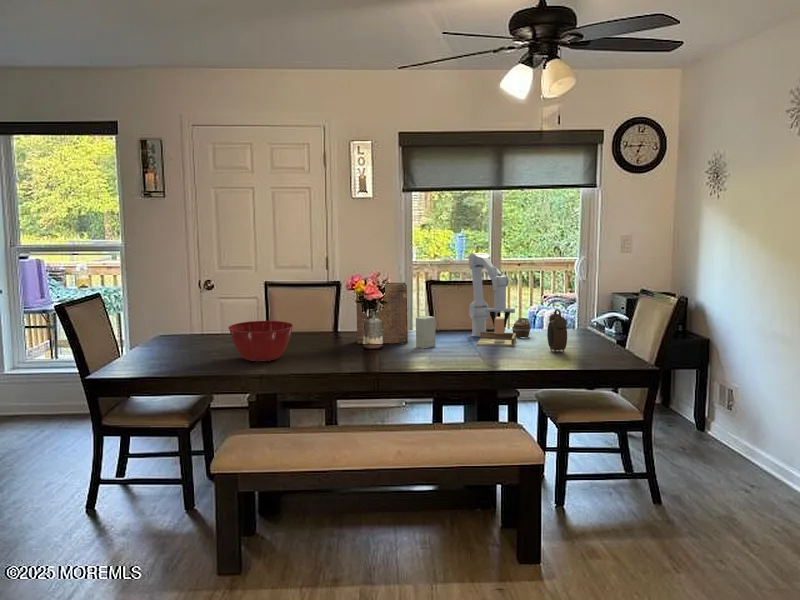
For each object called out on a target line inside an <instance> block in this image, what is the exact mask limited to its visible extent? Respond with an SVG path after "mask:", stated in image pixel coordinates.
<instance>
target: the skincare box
mask: <svg viewBox="0 0 800 600" xmlns="http://www.w3.org/2000/svg"><path fill="white" fill-rule="evenodd" d="M436 341H437V340H436V317H435V316H430V315H425V316H420V317H419V316H418V317H415V346H416V347H417V348H419V347H420V348H419V349H423V348H425V349H427V348H429V349H430V348H433V347H436V344H437V343H436Z"/></svg>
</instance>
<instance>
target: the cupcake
mask: <svg viewBox="0 0 800 600" xmlns="http://www.w3.org/2000/svg"><path fill="white" fill-rule="evenodd" d="M511 328H512V333H516V337H528V336H529V337H530V332H531V328H532V326H531V322H530V319H529V318H526V317H518V319H517V320H516V321H515V322H514V323H513V326H512V327H511ZM529 337H528V338H529Z"/></svg>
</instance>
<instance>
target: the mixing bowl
mask: <svg viewBox="0 0 800 600" xmlns="http://www.w3.org/2000/svg"><path fill="white" fill-rule="evenodd" d="M293 327H294V324H293V323H291V322H287V321H279V320H255V321H245V322H238V323H235V324H231V325H229V326H228V330H229V332H230V336H231V339H232V341H233V344H234V346H235V348H236V350H237V352H238V354H239V355H240V356H241V357H242V358H243V359H244V360H246V361H248V360H249V361H248V362H250V361H269V360H274V359H276V360H277V359H279V358H280V357H281V356H282V355H283V354H284V352H285V351H286V348H287V346H288V343H289V342H290V338H291V335H292V332H293ZM274 361H275V360H274ZM269 362H270V361H269Z"/></svg>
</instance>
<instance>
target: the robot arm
mask: <svg viewBox="0 0 800 600" xmlns="http://www.w3.org/2000/svg"><path fill="white" fill-rule="evenodd" d="M468 265H469V266H468V267H469V270H471V277H472V278H471V279H472V289H473V290H472V291H473V301H472V302H471V303H470V304H469V307H468V309H469V310H468V315H469V317H470V319H471V320H472V321H471V322H472V323H471V324H472V327H471V329H472V332H471V333H472V334H471V335H470V337H479V338H480V332H487V320H488V318H489V317H490V318H491V321H492V324H493V326H494V319H495V318H496V313H499V314H500V313H501V314H502V313H503V314H504V316H503V317H505V322H504V327H505V328H506V327H507V324H508V323H507V322H508V321H509V317H510V315H511V314H515V313H516V309H515V308H507V287H508V286H509V277H508V276H507V275H506V274H503V273H502V272H501V271H500V270H499V268H498V267H497V266H494V265H493V264H492V261H491V255H490V253H489V252H475V253H474V252H471V253H470V254H469V256H468ZM484 269H485V270H487V276H489V278H490V280H491V283H492V290H493V291H494V292H493V297H494V298H493V303H494V304H493V306H494V307H489V303H488V302H486V301H485V300H484V288H483V276H482V273H483V272H482V271H483V270H484Z"/></svg>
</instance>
